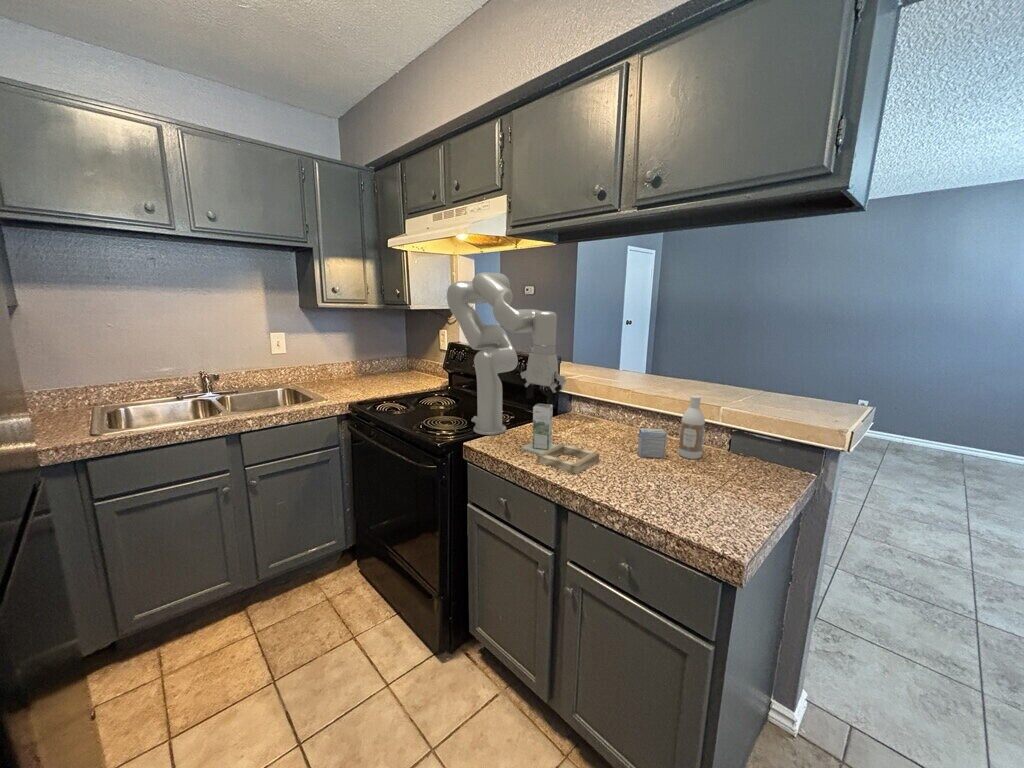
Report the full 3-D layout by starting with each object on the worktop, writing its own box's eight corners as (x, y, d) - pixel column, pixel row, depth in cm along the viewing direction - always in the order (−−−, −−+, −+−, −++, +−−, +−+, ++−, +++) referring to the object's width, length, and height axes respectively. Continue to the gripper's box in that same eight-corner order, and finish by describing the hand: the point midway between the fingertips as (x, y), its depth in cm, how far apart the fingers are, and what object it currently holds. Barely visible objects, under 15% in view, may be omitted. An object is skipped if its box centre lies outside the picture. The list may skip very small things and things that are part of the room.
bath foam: (675, 456, 137) (681, 396, 133) (681, 450, 142) (687, 393, 138) (698, 461, 133) (704, 400, 129) (703, 455, 138) (709, 396, 134)
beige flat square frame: (537, 462, 130) (537, 455, 130) (561, 450, 141) (561, 443, 141) (576, 474, 122) (577, 466, 121) (599, 460, 133) (599, 453, 132)
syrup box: (552, 444, 144) (553, 404, 141) (548, 450, 139) (549, 408, 136) (535, 443, 146) (536, 402, 143) (531, 448, 140) (532, 407, 137)
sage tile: (520, 449, 142) (521, 447, 142) (537, 442, 149) (538, 439, 149) (545, 456, 136) (545, 454, 136) (561, 448, 143) (562, 446, 143)
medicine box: (661, 453, 139) (663, 428, 138) (664, 458, 135) (667, 433, 133) (637, 452, 140) (638, 427, 138) (639, 457, 136) (641, 432, 134)
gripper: (515, 348, 138) (514, 398, 142) (560, 354, 128) (557, 408, 132) (529, 346, 144) (527, 394, 148) (572, 351, 134) (569, 403, 137)
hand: (541, 400), depth 140 cm, fingers open, 9 cm apart
